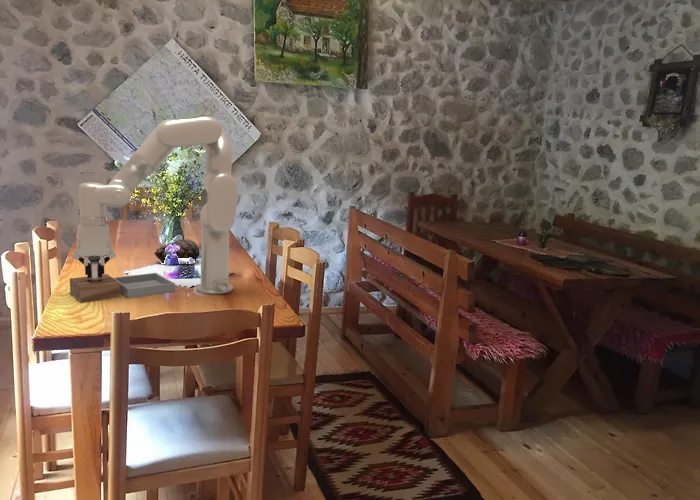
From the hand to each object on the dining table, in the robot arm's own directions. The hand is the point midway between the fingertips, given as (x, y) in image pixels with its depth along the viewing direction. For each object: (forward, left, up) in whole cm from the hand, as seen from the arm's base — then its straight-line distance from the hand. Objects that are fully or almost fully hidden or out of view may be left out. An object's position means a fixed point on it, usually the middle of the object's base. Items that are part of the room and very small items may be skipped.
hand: (95, 276), depth 191 cm
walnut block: (0, 0, -6) cm, 7 cm away
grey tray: (0, -16, -6) cm, 17 cm away
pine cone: (+29, -41, -7) cm, 51 cm away
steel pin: (0, 0, -6) cm, 6 cm away
